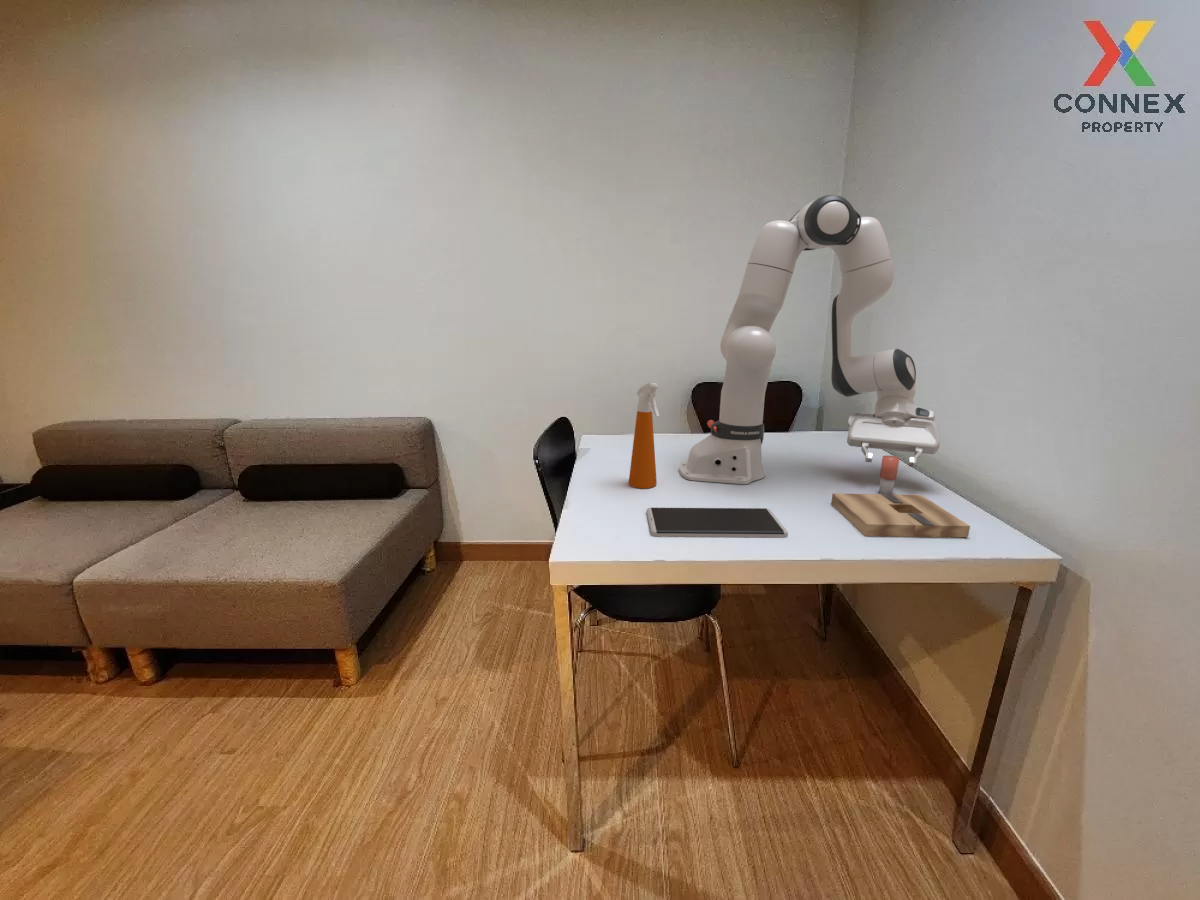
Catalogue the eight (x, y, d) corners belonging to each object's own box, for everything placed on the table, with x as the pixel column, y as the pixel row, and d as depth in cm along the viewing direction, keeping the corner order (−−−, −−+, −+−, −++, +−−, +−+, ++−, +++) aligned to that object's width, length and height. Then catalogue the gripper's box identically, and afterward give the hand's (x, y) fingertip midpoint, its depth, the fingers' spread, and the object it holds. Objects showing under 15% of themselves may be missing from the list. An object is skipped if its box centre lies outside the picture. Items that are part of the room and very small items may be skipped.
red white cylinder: (881, 495, 132) (886, 459, 130) (874, 490, 136) (879, 455, 133) (896, 495, 132) (902, 459, 130) (889, 490, 136) (895, 455, 133)
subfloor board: (864, 536, 109) (866, 523, 109) (831, 503, 127) (832, 492, 126) (967, 537, 109) (970, 525, 108) (919, 505, 126) (921, 494, 125)
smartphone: (788, 540, 109) (789, 532, 108) (651, 539, 109) (651, 531, 108) (768, 514, 121) (769, 507, 121) (646, 514, 121) (646, 506, 121)
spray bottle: (642, 495, 132) (645, 385, 125) (624, 481, 141) (625, 379, 134) (668, 491, 134) (673, 383, 127) (648, 478, 144) (651, 377, 137)
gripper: (849, 405, 141) (844, 451, 135) (942, 412, 133) (940, 461, 127) (848, 419, 146) (842, 464, 140) (937, 426, 138) (935, 474, 132)
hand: (889, 463), depth 134 cm, fingers open, 8 cm apart
